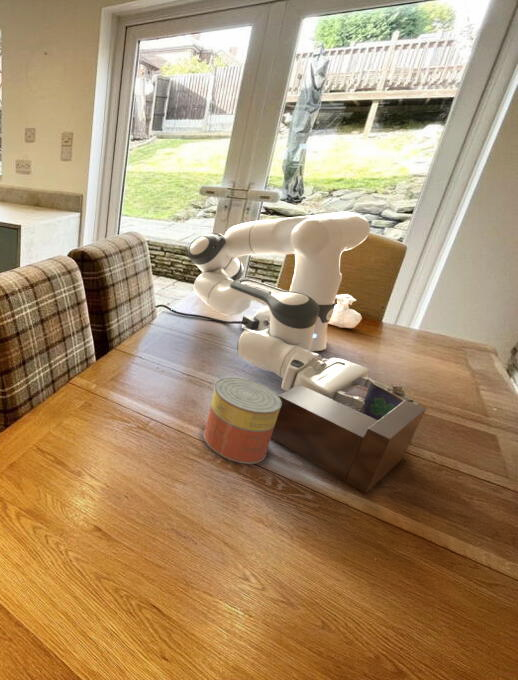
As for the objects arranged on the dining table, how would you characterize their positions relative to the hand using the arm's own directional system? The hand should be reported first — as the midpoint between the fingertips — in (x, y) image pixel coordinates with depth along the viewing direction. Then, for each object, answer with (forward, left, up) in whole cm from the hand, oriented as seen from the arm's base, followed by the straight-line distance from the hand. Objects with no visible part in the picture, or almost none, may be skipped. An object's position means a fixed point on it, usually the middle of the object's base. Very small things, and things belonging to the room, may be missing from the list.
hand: (374, 398), depth 84 cm
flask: (+3, 0, -6) cm, 7 cm away
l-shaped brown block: (0, -16, -6) cm, 17 cm away
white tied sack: (-27, +53, -6) cm, 60 cm away
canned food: (-10, -32, -6) cm, 34 cm away
